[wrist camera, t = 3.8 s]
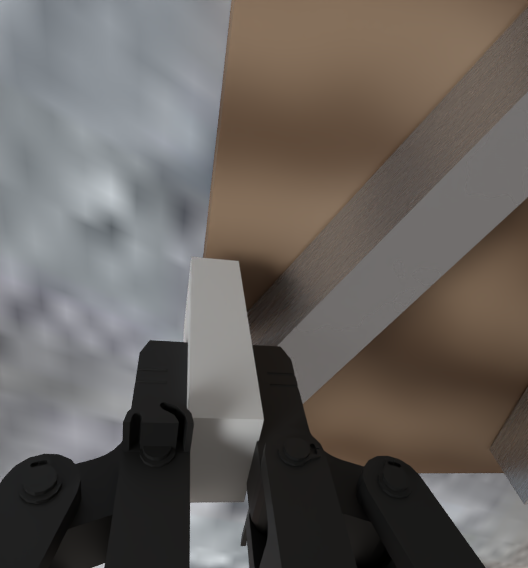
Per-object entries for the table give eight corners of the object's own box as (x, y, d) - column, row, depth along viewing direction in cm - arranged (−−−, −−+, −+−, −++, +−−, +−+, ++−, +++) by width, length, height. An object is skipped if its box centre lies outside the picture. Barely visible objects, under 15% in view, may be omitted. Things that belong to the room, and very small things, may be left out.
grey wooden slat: (619, -94, 12) (731, -116, 9) (658, -23, 13) (769, -25, 10) (177, 388, 19) (174, 449, 16) (224, 410, 20) (229, 471, 17)
